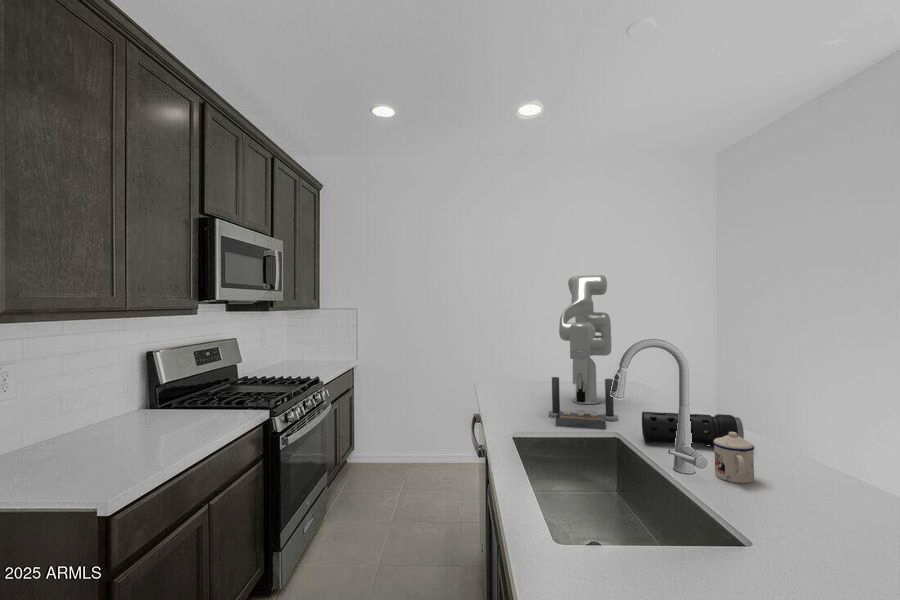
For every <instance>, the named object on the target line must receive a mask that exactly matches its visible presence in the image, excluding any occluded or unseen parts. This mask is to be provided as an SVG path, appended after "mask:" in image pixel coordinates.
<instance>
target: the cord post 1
mask: <svg viewBox="0 0 900 600" xmlns="http://www.w3.org/2000/svg"><path fill="white" fill-rule="evenodd" d="M560 398H561V397H560V377H559V376H552V377H551V401H552V402H551V403H552V404H551V406H552V407H551V409H552V410H550V411H548V413H547V414H548V415H549V416H552V417H556V416H557V414H558V412H562V413H564V411H561V409H560V408H561V406H560V405H561V401H560V400H561V399H560ZM549 416H548V417H549ZM552 417H551V418H552Z"/></svg>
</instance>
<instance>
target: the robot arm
mask: <svg viewBox="0 0 900 600" xmlns="http://www.w3.org/2000/svg"><path fill="white" fill-rule="evenodd" d="M567 285H568V289H569V292H570V295H571V301H570V304H569V305H568V306H567V307H566V308H565V309H564V310H563V311H562V313H561V315H560V318H559V325H558V326H559V328H558V333H559V338H560V339H561V340H563V341H565V342H569V354H570V355H569V356H570V357H569V359H571V360H572V384H573V385H574V386H575V397H573V398H572V402H573V403H575V404H580V405H597V404H598V405H599V404H601V400H600V398H598V395H597V394H598V392H597V364H596V362H595V361H594V360H593V358H591V356H597V357H599V356H602V357H605V356H609V355H610V354H611V353H612V325H611V317H610V315H609V313H607V312H604V311H603V312H598V311H597V312H595V310H594V301H593V297H592V296H602V295H605V294H606V293H607V289H608V281H607V278H606V275H603V274H593V275H589V274H588V275H586V274H585V275H575V276H572V277H570V278H568V281H567ZM573 318H574V319H575V321H574V322H569V321H570V320H571V319H573ZM596 333H599V335H598V334H596Z"/></svg>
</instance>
